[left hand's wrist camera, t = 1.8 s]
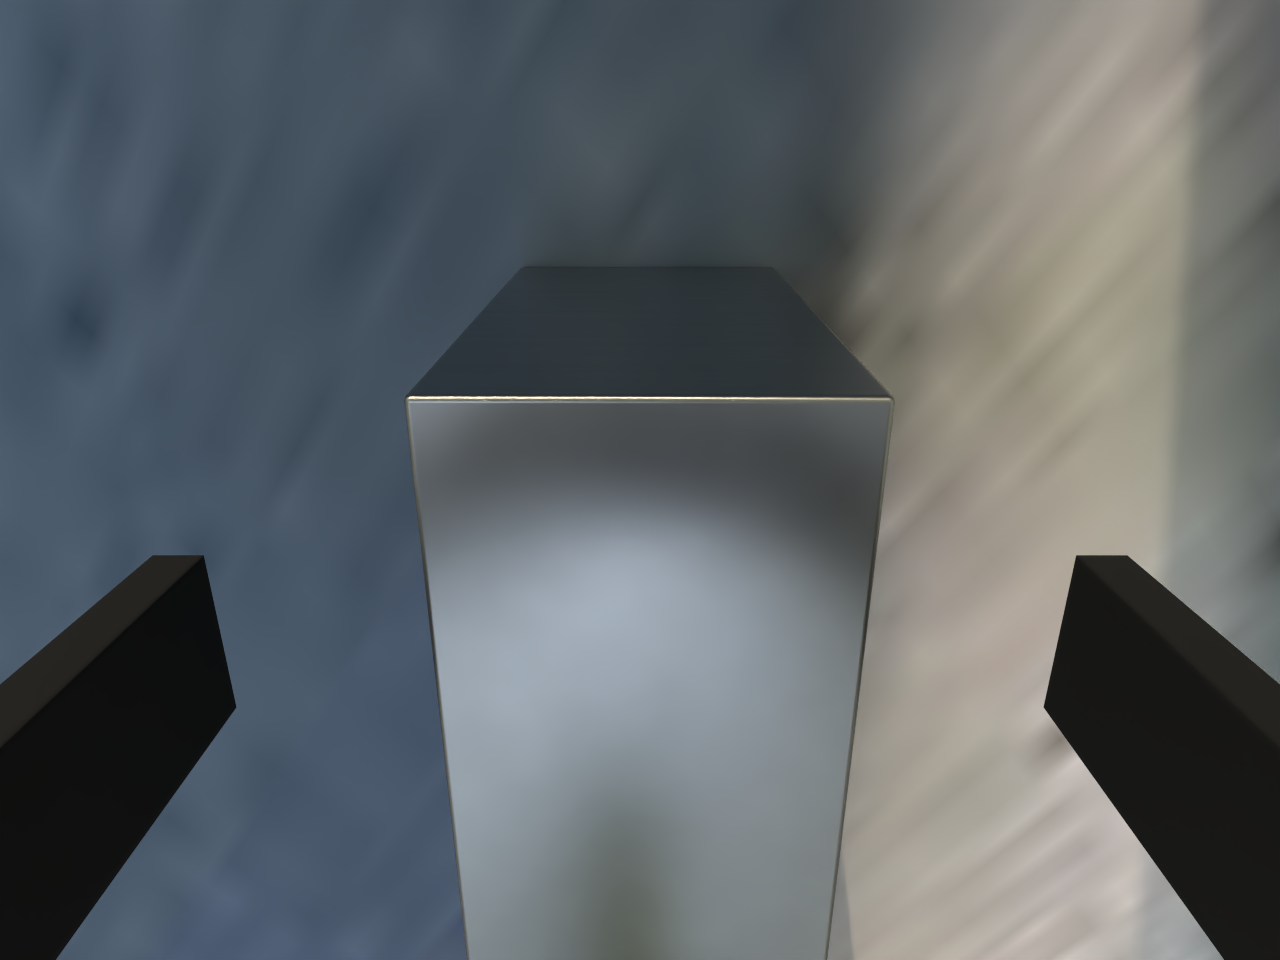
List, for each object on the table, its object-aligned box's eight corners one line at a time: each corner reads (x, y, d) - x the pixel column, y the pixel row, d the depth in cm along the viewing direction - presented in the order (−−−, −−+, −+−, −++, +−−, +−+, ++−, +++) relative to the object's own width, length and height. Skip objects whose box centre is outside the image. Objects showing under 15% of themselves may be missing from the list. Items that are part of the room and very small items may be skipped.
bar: (519, 266, 16) (401, 395, 8) (774, 266, 16) (898, 396, 8) (564, 1089, 25) (528, 1514, 17) (725, 1090, 25) (760, 1516, 17)
